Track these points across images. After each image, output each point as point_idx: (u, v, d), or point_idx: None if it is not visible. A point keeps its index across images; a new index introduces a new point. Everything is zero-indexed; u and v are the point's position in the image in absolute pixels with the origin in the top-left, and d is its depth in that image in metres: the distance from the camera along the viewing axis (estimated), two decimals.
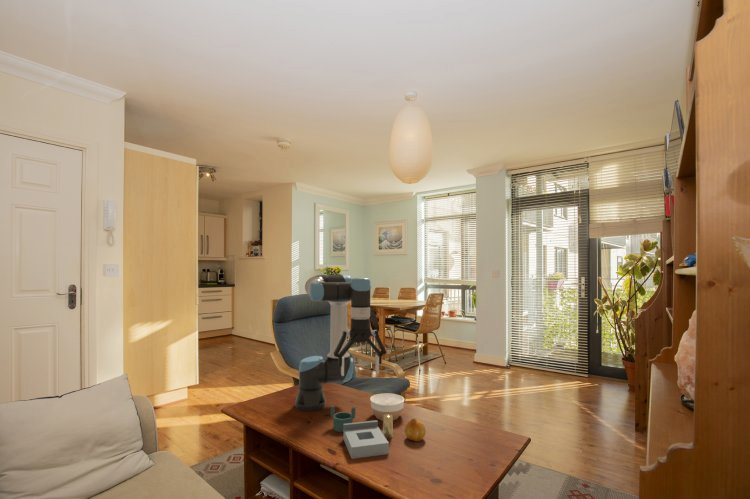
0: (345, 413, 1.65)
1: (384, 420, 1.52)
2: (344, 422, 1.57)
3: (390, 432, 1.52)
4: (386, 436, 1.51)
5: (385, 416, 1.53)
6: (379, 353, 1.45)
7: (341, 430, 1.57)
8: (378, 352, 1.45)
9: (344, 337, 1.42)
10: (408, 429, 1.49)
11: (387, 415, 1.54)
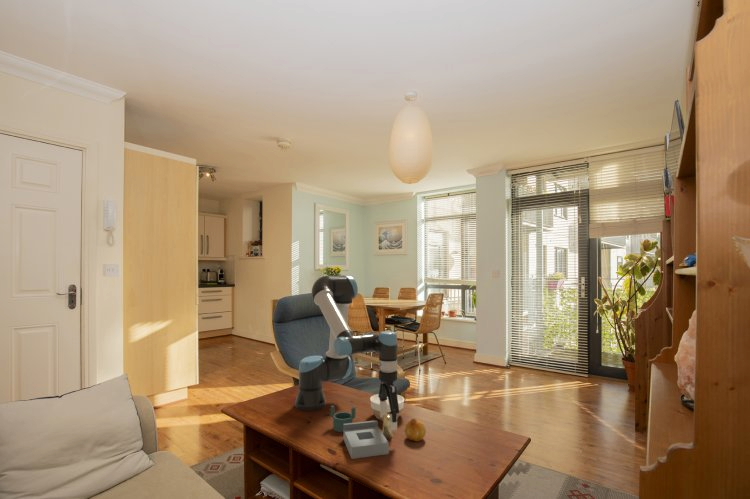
0: (345, 413, 1.65)
1: (384, 420, 1.52)
2: (344, 422, 1.57)
3: (390, 432, 1.52)
4: (386, 436, 1.51)
5: (385, 416, 1.53)
6: None
7: (341, 430, 1.57)
8: (390, 409, 1.47)
9: (380, 383, 1.60)
10: (408, 429, 1.49)
11: (387, 415, 1.54)
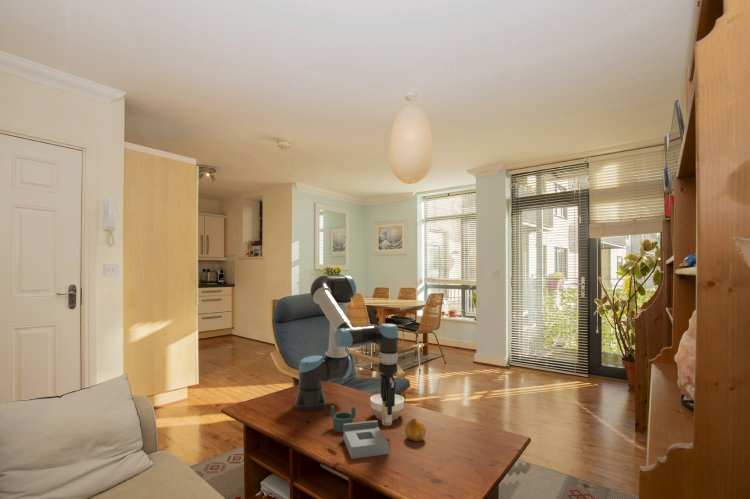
0: (345, 413, 1.65)
1: (383, 407, 1.53)
2: (344, 422, 1.57)
3: None
4: (385, 423, 1.52)
5: (384, 403, 1.54)
6: (386, 403, 1.51)
7: (341, 430, 1.57)
8: (386, 402, 1.51)
9: (381, 379, 1.59)
10: (408, 429, 1.49)
11: None
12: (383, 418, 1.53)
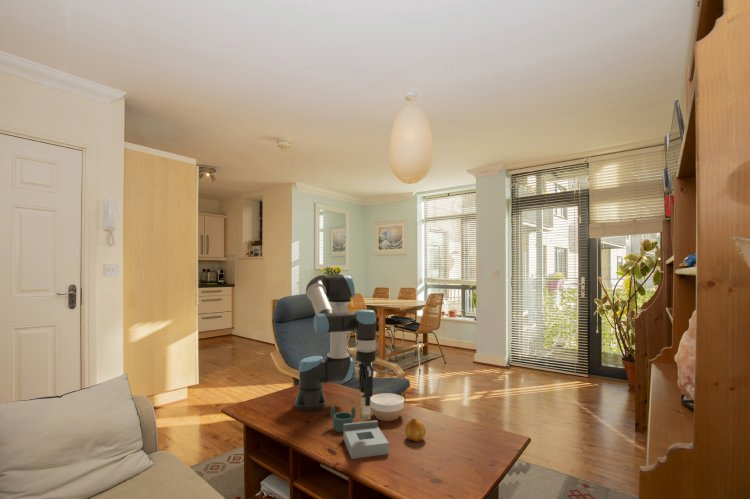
0: (345, 413, 1.65)
1: (361, 401, 1.44)
2: (344, 422, 1.57)
3: None
4: (363, 418, 1.43)
5: None
6: (364, 394, 1.42)
7: (341, 430, 1.57)
8: (364, 392, 1.42)
9: (359, 368, 1.51)
10: (408, 429, 1.49)
11: None
12: (361, 412, 1.44)
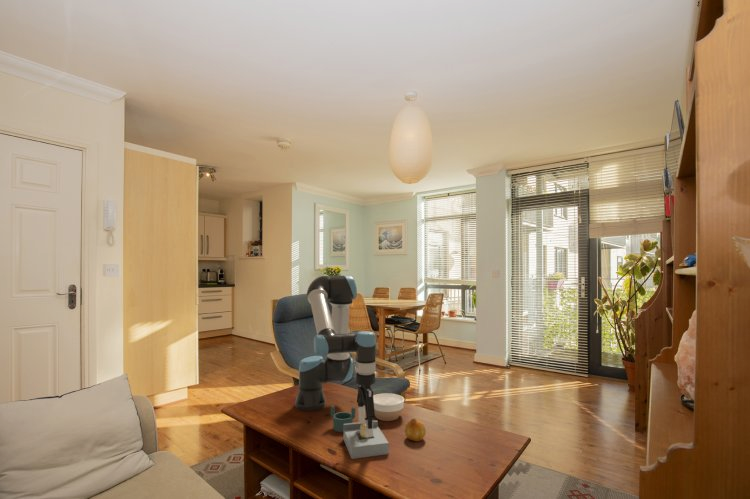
0: (345, 413, 1.65)
1: (361, 429, 1.43)
2: (344, 422, 1.57)
3: None
4: None
5: (362, 425, 1.44)
6: (366, 416, 1.38)
7: (341, 430, 1.57)
8: (366, 414, 1.39)
9: None
10: (408, 429, 1.49)
11: (365, 424, 1.46)
12: None
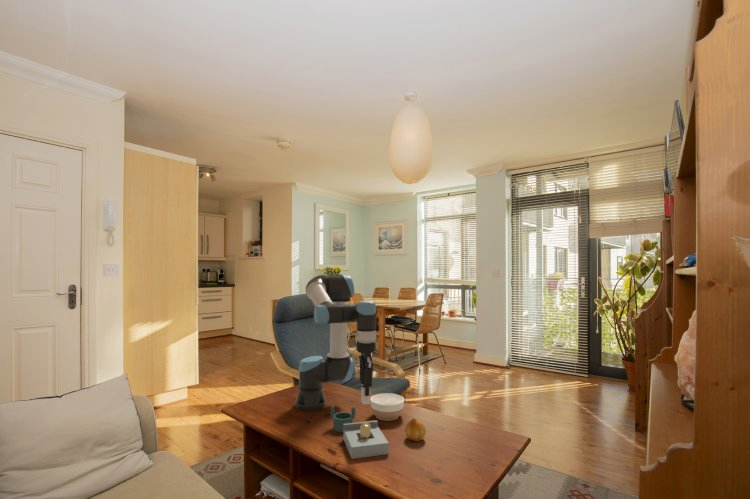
0: (345, 413, 1.65)
1: (361, 429, 1.43)
2: (344, 422, 1.57)
3: None
4: None
5: (362, 425, 1.44)
6: (363, 384, 1.43)
7: (341, 430, 1.57)
8: (363, 382, 1.43)
9: (359, 360, 1.50)
10: (408, 429, 1.49)
11: (365, 424, 1.46)
12: None
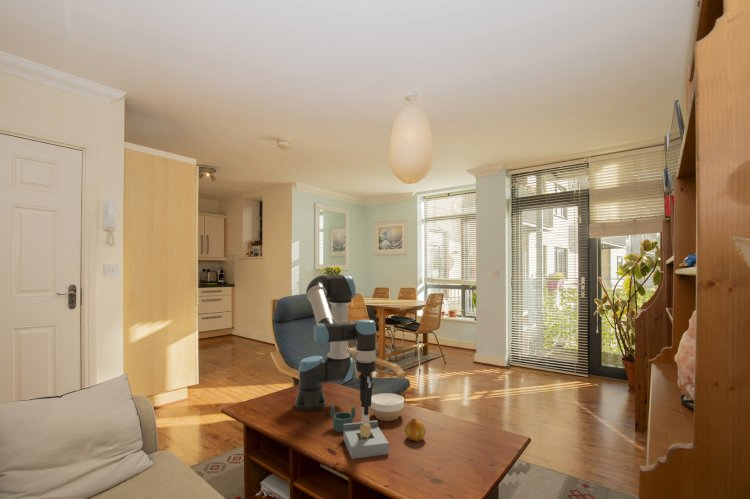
0: (345, 413, 1.65)
1: (361, 429, 1.43)
2: (344, 422, 1.57)
3: None
4: None
5: (362, 425, 1.44)
6: (363, 403, 1.44)
7: (341, 430, 1.57)
8: (363, 401, 1.44)
9: (359, 380, 1.50)
10: (408, 429, 1.49)
11: (365, 424, 1.46)
12: None
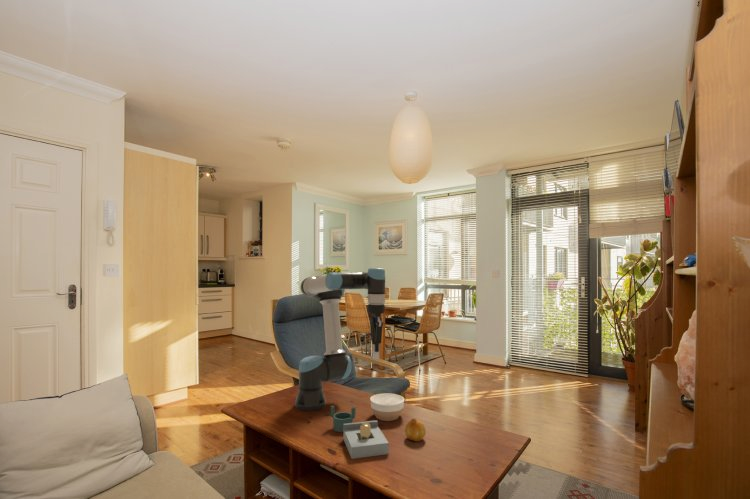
0: (345, 413, 1.65)
1: (361, 429, 1.43)
2: (344, 422, 1.57)
3: None
4: None
5: (362, 425, 1.44)
6: (374, 341, 1.60)
7: (341, 430, 1.57)
8: (374, 340, 1.60)
9: (370, 322, 1.66)
10: (408, 429, 1.49)
11: (365, 424, 1.46)
12: None
